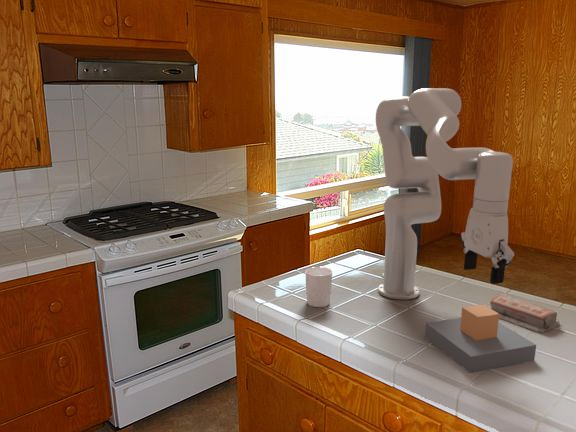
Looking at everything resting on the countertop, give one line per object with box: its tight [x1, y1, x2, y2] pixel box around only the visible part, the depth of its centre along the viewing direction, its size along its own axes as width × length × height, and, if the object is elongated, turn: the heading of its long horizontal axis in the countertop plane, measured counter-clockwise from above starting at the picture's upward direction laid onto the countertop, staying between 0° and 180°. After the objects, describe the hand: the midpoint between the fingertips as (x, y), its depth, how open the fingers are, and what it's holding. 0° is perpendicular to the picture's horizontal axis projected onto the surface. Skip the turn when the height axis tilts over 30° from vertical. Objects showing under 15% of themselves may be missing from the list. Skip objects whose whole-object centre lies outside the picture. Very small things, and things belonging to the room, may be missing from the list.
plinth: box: [424, 317, 537, 374], centre depth 125 cm, size 18×18×4 cm
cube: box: [460, 304, 500, 341], centre depth 124 cm, size 6×6×6 cm
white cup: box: [305, 266, 333, 308], centre depth 151 cm, size 8×8×10 cm
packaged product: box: [486, 293, 560, 334], centre depth 142 cm, size 18×5×10 cm
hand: (482, 275), depth 122 cm, fingers open, 9 cm apart
